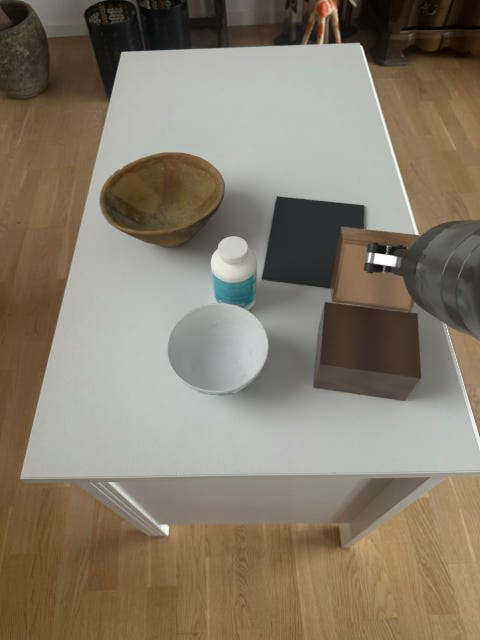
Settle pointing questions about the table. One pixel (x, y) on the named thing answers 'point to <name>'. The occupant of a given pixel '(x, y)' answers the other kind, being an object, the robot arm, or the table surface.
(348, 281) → the wooden box
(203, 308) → the chinaware
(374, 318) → the stand
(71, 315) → the table surface
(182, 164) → the bowl
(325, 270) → the mat
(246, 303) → the pill bottle
